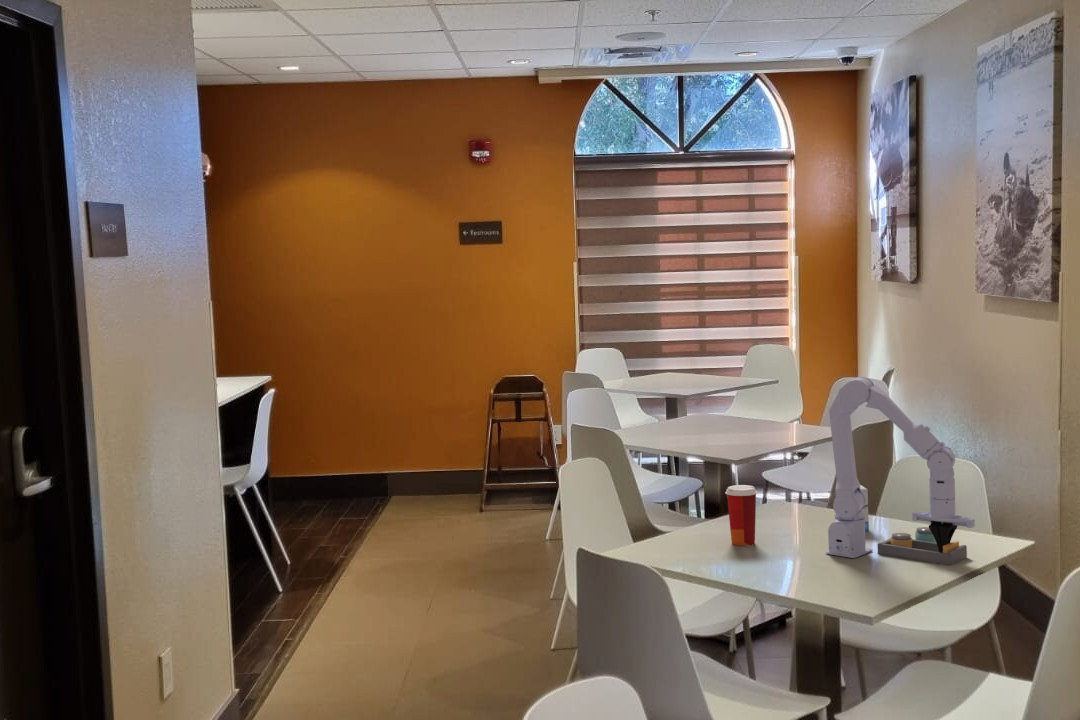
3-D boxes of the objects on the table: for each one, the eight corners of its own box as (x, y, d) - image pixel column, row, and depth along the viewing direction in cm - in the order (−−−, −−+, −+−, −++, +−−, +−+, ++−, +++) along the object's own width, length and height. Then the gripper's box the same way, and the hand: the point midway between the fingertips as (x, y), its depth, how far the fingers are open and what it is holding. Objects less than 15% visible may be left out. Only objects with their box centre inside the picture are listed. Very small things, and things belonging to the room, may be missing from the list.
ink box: (869, 531, 275) (868, 488, 275) (851, 531, 275) (850, 489, 275) (860, 524, 284) (859, 482, 283) (842, 525, 284) (841, 483, 283)
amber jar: (906, 556, 249) (906, 538, 248) (887, 553, 252) (886, 535, 252) (916, 552, 252) (915, 534, 252) (897, 549, 256) (896, 531, 255)
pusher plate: (947, 563, 240) (947, 546, 240) (943, 562, 241) (942, 546, 241) (959, 557, 245) (958, 541, 244) (955, 557, 245) (954, 540, 245)
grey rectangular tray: (950, 565, 238) (950, 552, 238) (877, 553, 252) (877, 541, 252) (967, 557, 245) (966, 545, 244) (895, 546, 258) (895, 534, 258)
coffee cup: (757, 539, 272) (755, 484, 271) (760, 546, 264) (758, 489, 263) (725, 539, 273) (723, 485, 272) (728, 547, 265) (726, 490, 264)
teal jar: (931, 550, 253) (930, 532, 253) (912, 547, 257) (911, 529, 257) (940, 546, 257) (939, 528, 256) (921, 543, 260) (920, 525, 260)
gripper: (979, 498, 241) (980, 554, 242) (921, 491, 251) (922, 545, 252) (966, 503, 236) (968, 560, 237) (907, 496, 247) (909, 551, 247)
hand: (943, 553), depth 244 cm, fingers closed
